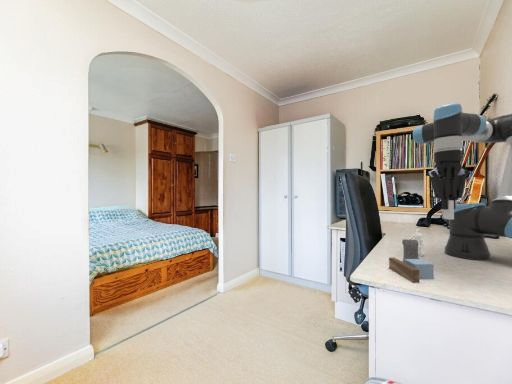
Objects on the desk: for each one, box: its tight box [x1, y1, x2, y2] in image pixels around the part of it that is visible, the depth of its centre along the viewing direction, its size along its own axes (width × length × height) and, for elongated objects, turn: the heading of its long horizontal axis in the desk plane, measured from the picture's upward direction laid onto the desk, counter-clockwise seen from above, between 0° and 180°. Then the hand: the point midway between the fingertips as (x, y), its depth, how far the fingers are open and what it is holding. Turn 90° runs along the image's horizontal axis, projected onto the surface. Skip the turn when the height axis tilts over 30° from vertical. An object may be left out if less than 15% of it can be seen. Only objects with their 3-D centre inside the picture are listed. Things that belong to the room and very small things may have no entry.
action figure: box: [406, 228, 424, 257], centre depth 107 cm, size 6×4×12 cm, turn 36°
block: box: [404, 258, 435, 280], centre depth 82 cm, size 6×6×5 cm
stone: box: [401, 238, 420, 262], centre depth 93 cm, size 3×6×10 cm, turn 70°
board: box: [388, 257, 420, 283], centre depth 83 cm, size 2×14×4 cm, turn 179°
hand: (448, 218), depth 82 cm, fingers closed
